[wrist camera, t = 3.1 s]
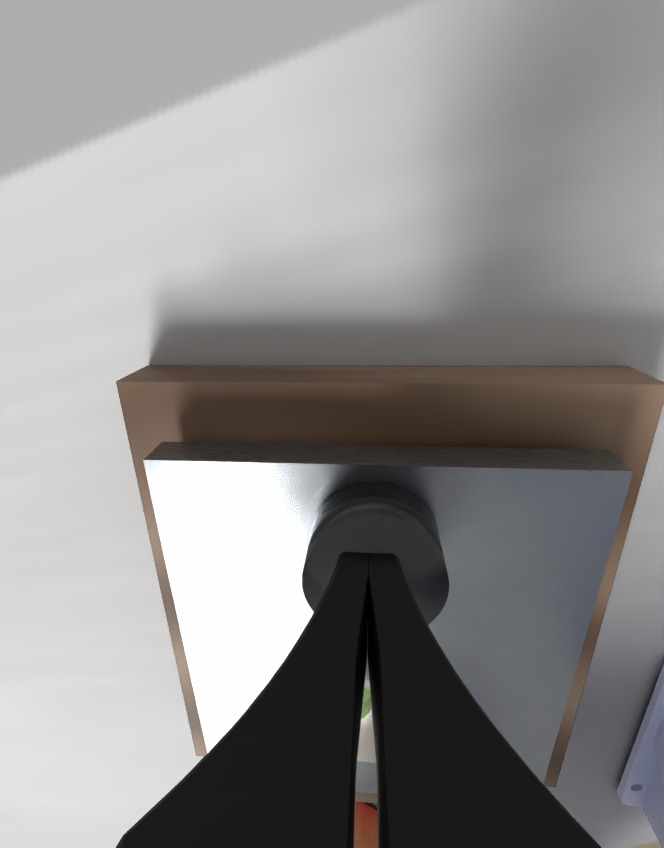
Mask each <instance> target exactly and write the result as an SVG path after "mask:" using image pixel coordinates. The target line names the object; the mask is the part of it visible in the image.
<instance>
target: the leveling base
mask: <svg viewBox="0 0 664 848" xmlns="http://www.w3.org/2000/svg"><path fill="white" fill-rule="evenodd" d="M116 384H117V388H118V393H119V398H120V402H121V407H122V412H123V416H124V421H125V426H126V430H127V435H128V440H129V444H130V449H131V454H132V458H133V463H134V468H135V472H136V477H137V482H138V486H139V491H140V496H141V500H142V505H143V510H144V514H145V519H146V524H147V528H148V533H149V538H150V542H151V547H152V552H153V556H154V561H155V566H156V570H157V575H158V580H159V584H160V589H161V594H162V598H163V603H164V608H165V612H166V617H167V622H168V626H169V631H170V636H171V640H172V645H173V650H174V654H175V659H176V664H177V668H178V673H179V678H180V682H181V687H182V692H183V696H184V701H185V706H186V710H187V715H188V720H189V724H190V729H191V734H192V738H193V743H194V748H195V752H196V756H205V755H206V754H207V749H206V744H205V740H204V735H203V731H202V726H201V722H200V717H199V712H198V708H197V703H196V699H195V694H194V690H193V685H192V680H191V676H190V671H189V667H188V662H187V658H186V653H185V649H184V644H183V639H182V635H181V630H180V626H179V621H178V617H177V612H176V608H175V603H174V598H173V594H172V589H171V585H170V580H169V576H168V571H167V567H166V562H165V557H164V553H163V548H162V544H161V539H160V535H159V530H158V526H157V521H156V516H155V512H154V507H153V503H152V498H151V494H150V489H149V485H148V480H147V475H146V471H145V466H144V462H143V460H144V459H145V458H146V457H147V456H148V455H149V454H150V453H151V452H152V451H153V450H154V449H155V448H156V447H157V446H158V445H159V444H160V443H161V442H211V443H264V444H317V445H371V446H424V447H477V448H530V449H583V450H610V451H611V452H612V453H613V454H615V455H616V456H617V457H618V458H619V459H620V460H621V461H622V462H623V463H625V464H626V465H627V466H628V467H629V468H630V469H631V470H632V471H633V474H632V477H631V481H630V484H629V488H628V491H627V495H626V498H625V501H624V505H623V508H622V512H621V515H620V519H619V522H618V526H617V529H616V533H615V536H614V540H613V543H612V547H611V550H610V554H609V557H608V561H607V564H606V568H605V571H604V574H603V578H602V581H601V585H600V588H599V592H598V595H597V599H596V602H595V606H594V609H593V613H592V616H591V620H590V623H589V627H588V630H587V634H586V637H585V641H584V644H583V647H582V651H581V654H580V658H579V661H578V665H577V668H576V672H575V675H574V679H573V682H572V686H571V689H570V693H569V696H568V700H567V703H566V707H565V710H564V713H563V717H562V720H561V724H560V727H559V731H558V734H557V738H556V741H555V745H554V748H553V752H552V755H551V759H550V762H549V766H548V769H547V773H546V776H545V780H544V783H543V785H544V786H549V787H556V784H557V780H558V777H559V773H560V770H561V766H562V763H563V759H564V756H565V752H566V748H567V745H568V741H569V738H570V734H571V731H572V727H573V723H574V720H575V716H576V713H577V709H578V706H579V702H580V699H581V695H582V691H583V688H584V684H585V681H586V677H587V674H588V670H589V666H590V663H591V659H592V656H593V652H594V649H595V645H596V642H597V638H598V634H599V631H600V627H601V624H602V620H603V617H604V613H605V609H606V606H607V602H608V599H609V595H610V592H611V588H612V585H613V581H614V577H615V574H616V570H617V567H618V563H619V560H620V556H621V552H622V549H623V545H624V542H625V538H626V535H627V531H628V528H629V524H630V520H631V517H632V513H633V510H634V506H635V503H636V499H637V495H638V492H639V488H640V485H641V481H642V478H643V474H644V471H645V467H646V463H647V460H648V456H649V453H650V449H651V446H652V442H653V438H654V435H655V431H656V428H657V424H658V421H659V417H660V414H661V410H662V406H663V403H664V382H662V381H659V380H657V379H655V378H653V377H650V376H648V375H646V374H644V373H642V372H639V371H637V370H635V369H633V368H631V367H548V366H146V367H144V368H142V369H140V370H138V371H136V372H134V373H132V374H130V375H128V376H126V377H124V378H122V379H120V380H118V381H116ZM355 801H357V802H368V803H377V793H366V792H355Z"/></svg>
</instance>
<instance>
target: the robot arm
mask: <svg viewBox="0 0 664 848" xmlns="http://www.w3.org/2000/svg"><path fill="white" fill-rule="evenodd" d="M367 633H368V670H369V683H370V695H371V707H372V719H373V731H374V743H375V755H376V771H377V811H378V848H602V847H601V846H600V845H599V844H598V843H597V842H596V841H595V840H594V839H593V838H592V837H591V836H590V835H589V834H588V833H587V832H586V831H585V830H584V828H583V827H582V826H581V825H580V824H579V823H578V822H577V821H576V820H575V819H574V818H573V817H572V816H571V815H570V814H569V812H568V811H567V810H566V809H565V808H564V807H563V806H562V805H561V804H560V802H559V801H558V800H557V799H556V798H555V797H554V796H553V795H552V794H551V792H550V791H549V790H548V789H547V788H546V787H545V786H544V785H543V784H542V782H541V781H540V780H539V779H538V778H537V777H536V775H535V774H534V773H533V772H532V771H531V769H530V768H529V767H528V766H527V765H526V763H525V762H524V761H523V760H522V759H521V757H520V756H519V755H518V754H517V752H516V751H515V750H514V749H513V748H512V746H511V745H510V744H509V743H508V742H507V740H506V739H505V738H504V737H503V736H502V734H501V733H500V732H499V731H498V729H497V728H496V727H495V726H494V724H493V723H492V722H491V720H490V719H489V718H488V716H487V715H486V714H485V712H484V711H483V710H482V708H481V707H480V706H479V704H478V703H477V701H476V700H475V699H474V697H473V696H472V694H471V693H470V692H469V690H468V689H467V687H466V686H465V684H464V683H463V682H462V680H461V679H460V677H459V676H458V674H457V673H456V671H455V670H454V668H453V666H452V665H451V663H450V662H449V660H448V659H447V657H446V655H445V654H444V652H443V650H442V649H441V647H440V645H439V644H438V642H437V640H436V639H435V637H434V635H433V633H432V632H431V630H430V628H429V626H428V624H427V622H426V620H425V619H424V617H423V615H422V613H421V611H420V609H419V607H418V605H417V603H416V601H415V599H414V597H413V595H412V593H411V590H410V588H409V586H408V584H407V581H406V579H405V576H404V574H403V571H402V568H401V565H400V562H399V558H398V557H397V556H396V555H395V554H387V553H369V570H368V553H360V552H343V553H341V554H340V555H339V557H338V561H337V564H336V567H335V569H334V572H333V574H332V577H331V579H330V581H329V583H328V586H327V588H326V590H325V592H324V594H323V596H322V598H321V600H320V602H319V604H318V605H317V607H316V609H315V611H314V613H313V615H312V617H311V618H310V620H309V622H308V623H307V625H306V627H305V628H304V630H303V632H302V633H301V635H300V637H299V638H298V640H297V641H296V643H295V645H294V646H293V648H292V649H291V651H290V652H289V654H288V655H287V657H286V658H285V660H284V661H283V663H282V664H281V665H280V667H279V668H278V670H277V671H276V672H275V674H274V675H273V676H272V678H271V679H270V681H269V682H268V683H267V685H266V686H265V687H264V688H263V690H262V691H261V692H260V693H259V695H258V696H257V697H256V698H255V700H254V701H253V702H252V703H251V705H250V706H249V707H248V708H247V710H246V711H245V712H244V713H243V714H242V716H241V717H240V718H239V719H238V720H237V722H236V723H235V724H234V725H233V726H232V727H231V728H230V730H229V731H228V732H227V733H226V734H225V735H224V736H223V737H222V738H221V739H220V740H219V741H218V743H217V744H216V745H215V746H214V747H213V748H212V749H211V750H210V751H209V752H208V753H207V754H206V755H205V756H204V757H203V759H202V760H201V761H200V762H199V763H198V764H197V765H196V766H195V767H194V768H193V769H192V770H191V771H190V772H189V773H188V774H187V775H186V776H185V777H184V778H183V779H182V780H181V781H180V782H179V783H178V784H177V785H176V786H175V787H174V788H173V789H172V790H171V791H170V792H169V793H168V794H167V795H166V796H165V797H163V798H162V799H161V800H160V801H159V802H158V803H157V804H156V805H155V806H154V807H153V808H152V809H151V810H150V811H149V812H148V813H146V814H145V815H144V816H143V817H142V818H141V819H140V820H139V821H138V822H137V823H136V824H135V825H134V826H133V827H132V828H130V829H129V830H128V831H127V832H126V833H125V834H124V835H123V837H122V838H121V840H120V842H119V843H118V845H117V846H116V848H354V823H355V784H356V769H357V756H358V746H359V735H360V725H361V715H362V705H363V695H364V685H365V675H366V664H367ZM617 795H618V798H619V800H620V802H621V803H622V804H624V805H626V806H633V807H642V808H643V810H644V812H645V814H646V816H647V818H648V820H649V822H650V824H651V826H652V828H653V830H654V833H655V835H656V837H657V839H658V841H659V843H660V845H661V847H662V848H664V664H663V667H662V670H661V672H660V675H659V678H658V681H657V683H656V686H655V689H654V691H653V694H652V697H651V700H650V702H649V705H648V708H647V710H646V713H645V716H644V719H643V721H642V724H641V727H640V729H639V732H638V735H637V738H636V740H635V743H634V746H633V748H632V751H631V754H630V757H629V759H628V762H627V765H626V767H625V770H624V773H623V776H622V778H621V781H620V784H619V786H618V789H617Z"/></svg>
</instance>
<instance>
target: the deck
mask: <svg viewBox="0 0 664 848" xmlns="http://www.w3.org/2000/svg"><path fill="white" fill-rule="evenodd" d="M143 462H144V466H145V471H146V475H147V480H148V485H149V489H150V494H151V498H152V503H153V507H154V512H155V516H156V521H157V526H158V530H159V535H160V539H161V544H162V548H163V553H164V557H165V562H166V567H167V571H168V576H169V580H170V585H171V589H172V594H173V598H174V603H175V608H176V612H177V617H178V621H179V626H180V630H181V635H182V639H183V644H184V649H185V653H186V658H187V662H188V667H189V671H190V676H191V680H192V685H193V690H194V694H195V699H196V703H197V708H198V712H199V717H200V722H201V726H202V731H203V735H204V740H205V744H206V749H207V753H208V752H209V751H210V750H211V749H212V748H213V747H214V746H215V745H216V744H217V743H218V741H219V740H220V739H221V738H222V737H223V736H224V735H225V734H226V733H227V732H228V731H229V730H230V728H231V727H232V726H233V725H234V724H235V723H236V722H237V720H238V719H239V718H240V717H241V716H242V714H243V713H244V712H245V711H246V710H247V708H248V707H249V706H250V705H251V703H252V702H253V701H254V700H255V698H256V697H257V696H258V695H259V693H260V692H261V691H262V690H263V688H264V687H265V686H266V685H267V683H268V682H269V681H270V679H271V678H272V676H273V675H274V674H275V672H276V671H277V670H278V668H279V667H280V665H281V664H282V663H283V661H284V660H285V658H286V657H287V655H288V654H289V652H290V651H291V649H292V648H293V646H294V645H295V643H296V641H297V640H298V638H299V637H300V635H301V633H302V632H303V630H304V628H305V627H306V625H307V623H308V622H309V620H310V618H311V617H312V615H313V613H314V611H315V609H316V607H317V605H318V604H319V602H320V600H321V598H322V596H323V594H324V592H325V590H326V588H327V586H328V583H329V581H330V579H331V577H332V574H333V572H334V569H335V567H336V564H337V561H338V557H339V555H340V554H341V553H343V552H360V553H368V570H369V553H387V554H395V555H396V556H397V557H398V558H399V562H400V565H401V568H402V571H403V574H404V576H405V579H406V581H407V584H408V586H409V588H410V590H411V593H412V595H413V597H414V599H415V601H416V603H417V605H418V607H419V609H420V611H421V613H422V615H423V617H424V619H425V620H426V622H427V624H428V626H429V628H430V630H431V632H432V633H433V635H434V637H435V639H436V640H437V642H438V644H439V645H440V647H441V649H442V650H443V652H444V654H445V655H446V657H447V659H448V660H449V662H450V663H451V665H452V666H453V668H454V670H455V671H456V673H457V674H458V676H459V677H460V679H461V680H462V682H463V683H464V684H465V686H466V687H467V689H468V690H469V692H470V693H471V694H472V696H473V697H474V699H475V700H476V701H477V703H478V704H479V706H480V707H481V708H482V710H483V711H484V712H485V714H486V715H487V716H488V718H489V719H490V720H491V722H492V723H493V724H494V726H495V727H496V728H497V729H498V731H499V732H500V733H501V734H502V736H503V737H504V738H505V739H506V740H507V742H508V743H509V744H510V745H511V746H512V748H513V749H514V750H515V751H516V752H517V754H518V755H519V756H520V757H521V759H522V760H523V761H524V762H525V763H526V765H527V766H528V767H529V768H530V769H531V771H532V772H533V773H534V774H535V775H536V777H537V778H538V779H539V780H540V781H541V782H542V784H543V783H544V780H545V776H546V773H547V769H548V766H549V762H550V759H551V755H552V752H553V748H554V745H555V741H556V738H557V734H558V731H559V727H560V724H561V720H562V717H563V713H564V710H565V707H566V703H567V700H568V696H569V693H570V689H571V686H572V682H573V679H574V675H575V672H576V668H577V665H578V661H579V658H580V654H581V651H582V647H583V644H584V641H585V637H586V634H587V630H588V627H589V623H590V620H591V616H592V613H593V609H594V606H595V602H596V599H597V595H598V592H599V588H600V585H601V581H602V578H603V574H604V571H605V568H606V564H607V561H608V557H609V554H610V550H611V547H612V543H613V540H614V536H615V533H616V529H617V526H618V522H619V519H620V515H621V512H622V508H623V505H624V501H625V498H626V495H627V491H628V488H629V484H630V481H631V477H632V474H633V471H632V470H631V469H630V468H629V467H628V466H627V465H626V464H625V463H623V462H622V461H621V460H620V459H619V458H618V457H617V456H616V455H615V454H613V453H612V452H611V451H610V450H583V449H530V448H477V447H424V446H371V445H317V444H264V443H211V442H161V443H160V444H159V445H158V446H157V447H156V448H155V449H154V450H153V451H152V452H151V453H150V454H149V455H148V456H147V457H146V458H145V459H144V460H143ZM355 792H366V793H377V771H376V755H375V743H374V731H373V719H372V707H371V695H370V683H369V670H368V633H367V664H366V675H365V685H364V695H363V705H362V715H361V725H360V735H359V746H358V756H357V769H356V784H355Z"/></svg>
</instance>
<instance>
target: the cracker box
mask: <svg viewBox="0 0 664 848" xmlns="http://www.w3.org/2000/svg"><path fill="white" fill-rule="evenodd" d="M354 848H378V811H377V810H376V809H374V808H372V807H370V806H368V805H367V804H365V803H363V802H357V801H355V823H354Z"/></svg>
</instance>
